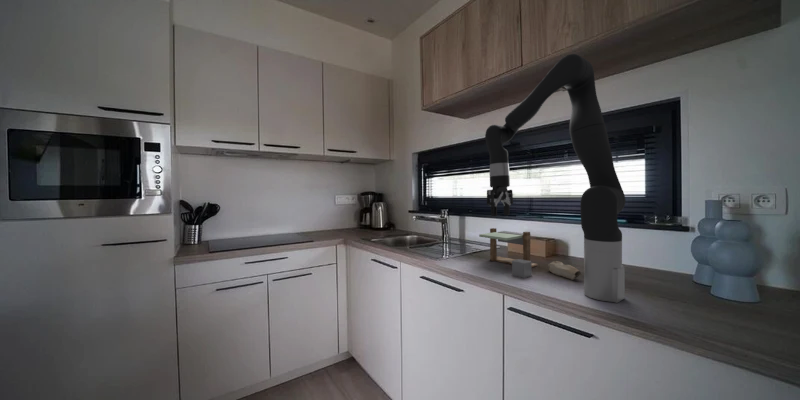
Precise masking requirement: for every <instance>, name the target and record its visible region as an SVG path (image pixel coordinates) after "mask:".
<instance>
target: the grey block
mask: <svg viewBox="0 0 800 400" xmlns="http://www.w3.org/2000/svg"><path fill="white" fill-rule="evenodd" d="M532 263H533V262H532V260H530V261H527V260H523V258H522V259H520V258H518V259H514V261H512V264H511V274H512V276H515V277H519V278H522V279H526V278H528V277H529V278H530V277H531V276H532V273H533V272H532V271H533V270H532V268H533V267H532Z"/></svg>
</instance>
